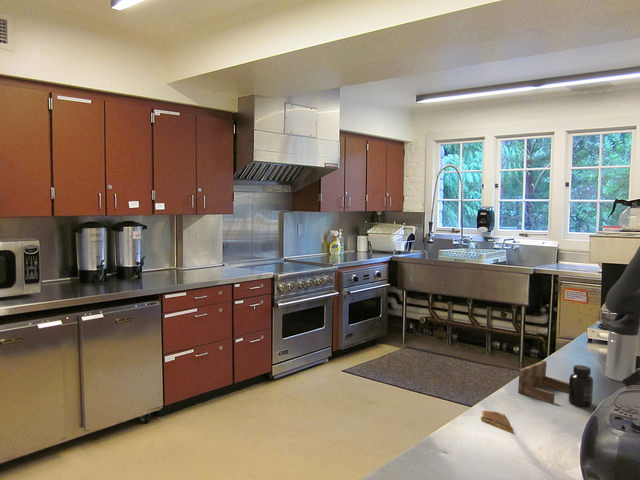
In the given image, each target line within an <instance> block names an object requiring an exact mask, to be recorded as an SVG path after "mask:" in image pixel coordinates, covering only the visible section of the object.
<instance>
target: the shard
mask: <svg viewBox="0 0 640 480" xmlns="http://www.w3.org/2000/svg"><path fill="white" fill-rule="evenodd" d="M481 414H482V417H480V421H482V422H485V423H488V422H489V423H488V424H490V423H491V425H492V424H493V426H494V427H497V428H499V427H500V429H502V430H504V431H507V432H511V433H513V431H514V428H513V427H512V425H511V423H510V421H509V419H508V417H507V416H506V414H505V413H501V412H498V411H491V410H482V411H481Z"/></svg>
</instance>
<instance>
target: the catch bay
mask: <svg viewBox="0 0 640 480" xmlns="http://www.w3.org/2000/svg"><path fill="white" fill-rule="evenodd" d="M518 373H519V374H518V388H517V389H518V390H517V393H518V394H523V395H526V396H529V397H532V398H535V399H538V400H542V401H543V402H547V403H549V404H550V403H551V404H553V403H555V392H551V391H548V390H545V389H542V388H539V387H540V386H545V387H548V388H552V389H554V390H556V391H560V392H563V393H567V394H569V382H567V381H563V380H560V379H556V378H553V377H549V376H546V375H547V361H546V360H541V361H539V362H536V363H533V364H530V365H528V366H526V367H522V368H520V369H519V372H518Z"/></svg>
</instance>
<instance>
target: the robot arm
mask: <svg viewBox="0 0 640 480" xmlns="http://www.w3.org/2000/svg"><path fill="white" fill-rule="evenodd" d="M604 304H605V307H606V309H607V311H609V312H610V313H612V314H617V315H618V314H619V315H625V316H624V317H623V318H620V319H618V320H614V321H612V322H610V323H609V324H608V325H609V326H608V336H607V348H606V350H607V351H606V361H605V362H606V363H605V373H604V376H605V378H608V379H611V380H614V381H616V382H621V383H623V384H624V386H625V387H627V388H628V387H631V386H632V385H634V384H636V383H640V367H639V368H637V369H636V361H637V353H638V352H637V350H638V338H639V329H640V245H639V247H638V248H637V251H636V252H635V253H634V255H633V256H632V258H631V259H630V261H629V262H628V264H627V265H626V267H625V270H624V271H623V273H622V275H620V278H619V279H618V280H617V281H616V282H615V283H614V284H613V285H612V287H611V288H610V289H609V290H608V292H607V294H606V297H605V303H604Z"/></svg>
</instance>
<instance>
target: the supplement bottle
mask: <svg viewBox="0 0 640 480" xmlns="http://www.w3.org/2000/svg"><path fill="white" fill-rule="evenodd" d="M591 369H592V368H590V367H589V366H587V365H580V364H578V365H574V366H573V371H572V372H573V373H571V374H570V376H569V381H568V383H569V393H568V402H569V404H570V405H573V406H575V407H576V408H577V407H579V408H591V407H592V406H593V399H594V398H593V396H594V383H595V382H594V381H595V380H594V378H593V377H592V376H591V374H592V373H591Z"/></svg>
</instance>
